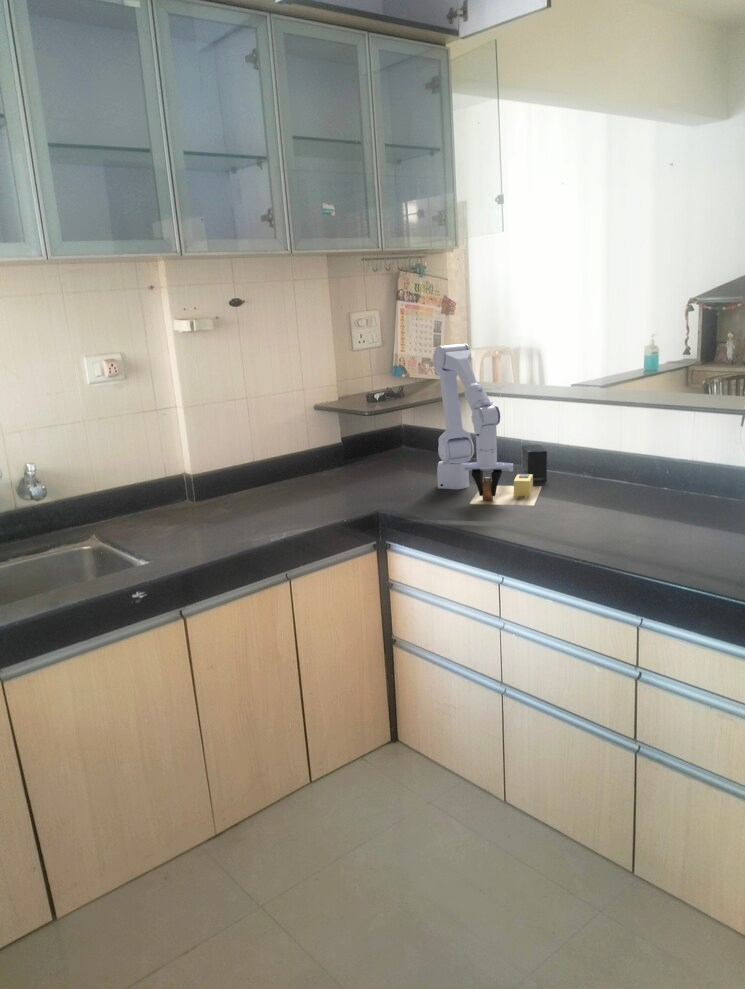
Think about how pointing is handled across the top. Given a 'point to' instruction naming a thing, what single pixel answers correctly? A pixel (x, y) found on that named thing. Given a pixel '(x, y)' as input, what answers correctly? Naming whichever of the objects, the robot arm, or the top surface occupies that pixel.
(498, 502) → the plywood panel
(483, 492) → the brown jar
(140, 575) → the top surface
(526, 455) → the small box
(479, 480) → the robot arm
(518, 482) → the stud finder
